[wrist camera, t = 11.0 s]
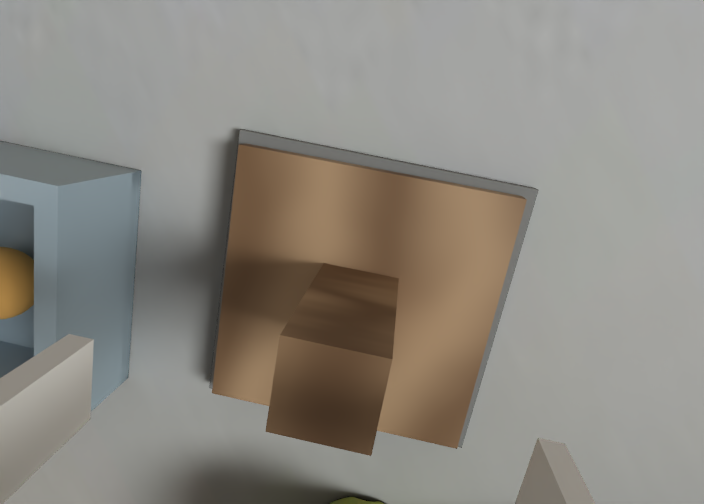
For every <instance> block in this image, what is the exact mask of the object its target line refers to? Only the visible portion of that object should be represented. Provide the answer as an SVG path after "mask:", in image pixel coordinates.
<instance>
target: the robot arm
mask: <svg viewBox="0 0 704 504" xmlns="http://www.w3.org/2000/svg"><path fill="white" fill-rule="evenodd" d="M93 346H94V339H90V338H85V337H81V336H76V335H72V334H68V335H66V336H65V337H63V338H62V339H60V340H59V341H57V342H56V343H54V344H53V345H51V346H49V347H48V348H46V349H45V350H43V351H42V352H40V353H39V354H37V355H36V356H34V357H32V358H31V359H29V360H28V361H26V362H25V363H23V364H22V365H20V366H18V367H17V368H15V369H14V370H12V371H11V372H9V373H8V374H6V375H5V376H3V377H1V378H0V504H3V503H4V502H5V501H6V500H7V499H8V498H9V497H10V496H11V495H12V494H13V493H14V492H15V491H16V490H17V489H18V488H19V487H20V486H22V485H23V484H24V483H25V482H26V481H27V480H28V479H29V478H30V477H31V476H32V475H33V474H34V473H35V472H36V471H37V470H38V469H39V468H40V467H41V466H42V465H43V464H44V463H45V462H46V461H47V460H48V459H49V458H51V457H52V456H53V455H54V454H55V453H56V452H57V451H58V450H59V449H60V448H61V447H62V446H63V445H64V444H65V443H66V442H67V441H68V440H69V439H70V438H71V437H72V436H73V435H74V434H75V433H76V432H77V431H79V430H80V429H81V428H82V427H83V426H84V425H85V424H86V423H87V422H88V421H89V420H90V416H91V393H92V369H93ZM515 504H595V502H594V500H593V498H592V496H591V494H590V492H589V490H588V488H587V486H586V484H585V482H584V480H583V478H582V476H581V474H580V472H579V470H578V468H577V467H576V465H575V463H574V461H573V459H572V457H571V455H570V453H569V451H568V449H567V447H566V445H565V444H563V443H559V442H554V441H550V440H545V439H541V438H538V439H537V442H536V445H535V448H534V451H533V454H532V456H531V459H530V462H529V465H528V468H527V471H526V474H525V477H524V479H523V482H522V485H521V488H520V491H519V494H518V497H517V500H516V502H515Z"/></svg>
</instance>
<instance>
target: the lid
mask: <svg viewBox="0 0 704 504" xmlns="http://www.w3.org/2000/svg"><path fill="white" fill-rule="evenodd" d="M526 201H527V199H525V198H524V197H523V196H519V195H513V194H508V193H503V192H498V191H493V190H487V189H482V188H477V187H472V186H466V185H461V184H456V183H451V182H445V181H440V180H435V179H430V178H424V177H419V176H414V175H409V174H403V173H398V172H393V171H388V170H382V169H377V168H372V167H367V166H362V165H356V164H351V163H346V162H341V161H335V160H330V159H325V158H320V157H314V156H309V155H304V154H299V153H293V152H288V151H283V150H278V149H272V148H267V147H262V146H257V145H251V144H239V147H238V156H237V165H236V174H235V184H234V193H233V202H232V212H231V221H230V230H229V240H228V249H227V258H226V268H225V277H224V286H223V295H222V305H221V314H220V323H219V333H218V342H217V351H216V361H215V370H214V379H213V389H212V393H214V394H218V395H223V396H227V397H231V398H236V399H240V400H245V401H249V402H254V403H258V404H262V405H267V406H269V412H268V419H267V426H266V432H270V433H274V434H279V435H283V436H287V437H292V438H296V439H300V440H305V441H309V442H314V443H318V444H322V445H327V446H331V447H335V448H340V449H344V450H348V451H353V452H357V453H361V454H366V455H370V456H371V454H372V450H373V445H374V441H375V436H376V432H377V431H381V432H386V433H390V434H395V435H399V436H403V437H408V438H412V439H417V440H421V441H426V442H430V443H434V444H439V445H443V446H448V447H452V448H456V449H457V447H458V444H459V440H460V436H461V433H462V429H463V426H464V422H465V419H466V415H467V412H468V408H469V404H470V401H471V397H472V394H473V390H474V387H475V383H476V379H477V376H478V372H479V369H480V365H481V362H482V358H483V355H484V351H485V347H486V344H487V340H488V337H489V333H490V330H491V326H492V323H493V319H494V315H495V312H496V308H497V305H498V301H499V298H500V294H501V290H502V287H503V283H504V280H505V276H506V273H507V269H508V266H509V262H510V258H511V255H512V251H513V248H514V244H515V241H516V237H517V234H518V230H519V226H520V223H521V219H522V216H523V212H524V209H525V205H526Z"/></svg>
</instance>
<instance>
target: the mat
mask: <svg viewBox="0 0 704 504" xmlns="http://www.w3.org/2000/svg"><path fill="white" fill-rule="evenodd" d="M239 144H251V145H257V146H262V147H267V148H272V149H278V150H283V151H288V152H293V153H299V154H304V155H309V156H314V157H320V158H325V159H330V160H335V161H341V162H346V163H351V164H356V165H362V166H367V167H372V168H377V169H382V170H388V171H393V172H398V173H403V174H409V175H414V176H419V177H424V178H430V179H435V180H440V181H445V182H451V183H456V184H461V185H466V186H472V187H477V188H482V189H487V190H493V191H498V192H503V193H508V194H513V195H519V196H523V197H524V198H525V199H527V201H526V205H525V209H524V212H523V216H522V219H521V223H520V226H519V230H518V234H517V237H516V241H515V244H514V248H513V251H512V255H511V258H510V262H509V266H508V269H507V273H506V276H505V280H504V283H503V287H502V290H501V294H500V298H499V301H498V305H497V308H496V312H495V315H494V319H493V323H492V326H491V330H490V333H489V337H488V340H487V344H486V347H485V351H484V355H483V358H482V362H481V365H480V369H479V372H478V376H477V379H476V383H475V387H474V390H473V394H472V397H471V401H470V404H469V408H468V412H467V415H466V419H465V422H464V426H463V429H462V433H461V436H460V440H459V444H458V447H461V448H462V445H463V441H464V438H465V435H466V431H467V428H468V425H469V421H470V418H471V415H472V411H473V408H474V404H475V401H476V398H477V394H478V391H479V388H480V384H481V381H482V378H483V374H484V371H485V368H486V364H487V361H488V358H489V354H490V351H491V348H492V344H493V341H494V338H495V334H496V331H497V328H498V324H499V321H500V317H501V314H502V311H503V307H504V304H505V301H506V297H507V294H508V291H509V287H510V284H511V281H512V277H513V274H514V271H515V267H516V264H517V261H518V257H519V254H520V251H521V247H522V244H523V240H524V237H525V234H526V230H527V227H528V224H529V220H530V217H531V214H532V210H533V207H534V204H535V200H536V197H537V194H538V189H536V188H532V187H527V186H522V185H517V184H512V183H507V182H502V181H497V180H492V179H487V178H482V177H477V176H472V175H467V174H462V173H457V172H452V171H447V170H442V169H437V168H432V167H428V166H423V165H418V164H413V163H408V162H403V161H398V160H393V159H388V158H383V157H378V156H373V155H368V154H363V153H358V152H353V151H348V150H343V149H338V148H333V147H328V146H323V145H318V144H313V143H308V142H303V141H299V140H294V139H289V138H284V137H279V136H274V135H269V134H264V133H259V132H254V131H249V130H240V133H239V141H238V147H239ZM237 156H238V150H237ZM236 165H237V158H236ZM235 174H236V167H235ZM234 184H235V175H234ZM234 184H233V192H232V200H231V209H230V217H229V226H228V234H227V243H226V251H225V260H224V268H223V276H222V285H221V293H220V302H219V310H218V319H217V327H216V335H215V344H214V352H213V361H212V369H211V378H210V386H209V388H212V389H213V379H214V370H215V361H216V351H217V342H218V333H219V323H220V314H221V305H222V295H223V286H224V277H225V268H226V258H227V249H228V240H229V230H230V221H231V212H232V202H233V193H234Z"/></svg>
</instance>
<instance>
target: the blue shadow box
mask: <svg viewBox="0 0 704 504" xmlns="http://www.w3.org/2000/svg"><path fill="white" fill-rule="evenodd" d="M140 185H141V170H136V169H131V168H127V167H122V166H117V165H112V164H108V163H103V162H98V161H93V160H89V159H84V158H79V157H74V156H70V155H65V154H60V153H55V152H50V151H46V150H41V149H36V148H31V147H27V146H22V145H17V144H12V143H8V142H3V141H0V247H8V248H13V249H16V250H19V251H21V252H23V253H25V254H27V255H28V256H30V257H31V258H32V259H33V260H34V305H33V306H32V307H30V308H29V309H28V310H27V311H25V312H23V313H22V314H20V315H17V316H15V317H12V318H7V319H0V378H1V377H3V376H5V375H6V374H8V373H9V372H11V371H12V370H14V369H15V368H17V367H18V366H20V365H22V364H23V363H25V362H26V361H28V360H29V359H31V358H32V357H34V356H36V355H37V354H39V353H40V352H42V351H43V350H45V349H46V348H48V347H49V346H51V345H53V344H54V343H56V342H57V341H59V340H60V339H62V338H63V337H65V336H66V335H68V334H72V335H76V336H81V337H85V338H90V339H94V346H93V369H92V393H91V411H92V410H93V409H94V408H95V407H96V406H98V405H99V404H100V403H101V402H102V401H103V400H104V399H105V398H106V397H107V396H109V395H110V394H111V393H112V392H113V391H114V390H115V389H116V388H117V387H118V386H120V385H121V384H122V383H123V382H124V381H125V380H126V379H127V378H128V372H129V357H130V341H131V325H132V310H133V294H134V278H135V263H136V247H137V231H138V216H139V200H140Z"/></svg>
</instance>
